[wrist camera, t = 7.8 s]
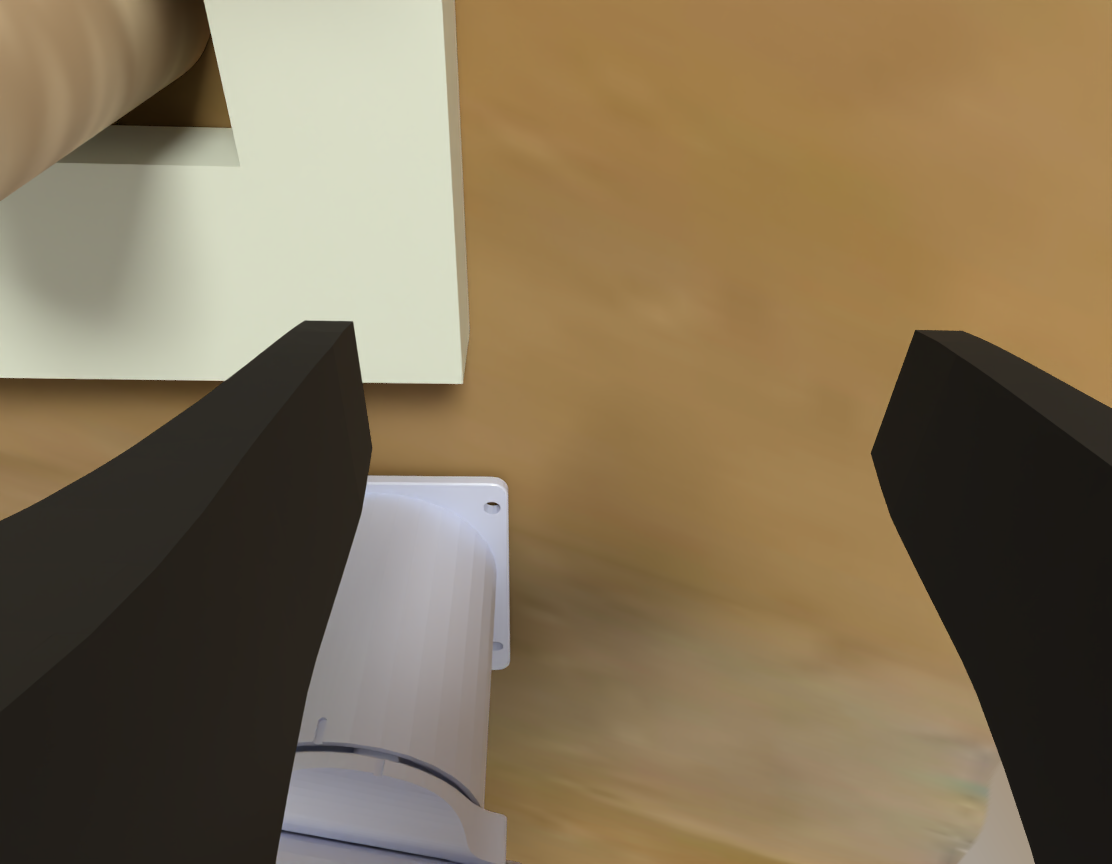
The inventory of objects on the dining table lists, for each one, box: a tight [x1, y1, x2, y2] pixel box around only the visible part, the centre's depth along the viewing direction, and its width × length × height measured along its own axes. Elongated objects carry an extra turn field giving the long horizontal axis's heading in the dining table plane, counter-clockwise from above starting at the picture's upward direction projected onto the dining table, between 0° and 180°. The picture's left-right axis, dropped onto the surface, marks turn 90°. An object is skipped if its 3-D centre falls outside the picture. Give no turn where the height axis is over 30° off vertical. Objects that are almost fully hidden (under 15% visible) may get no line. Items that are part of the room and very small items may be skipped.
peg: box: [0, 0, 210, 201], centre depth 13 cm, size 4×4×8 cm
